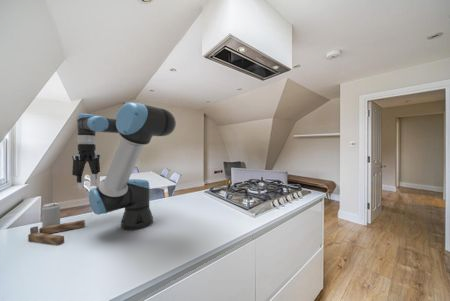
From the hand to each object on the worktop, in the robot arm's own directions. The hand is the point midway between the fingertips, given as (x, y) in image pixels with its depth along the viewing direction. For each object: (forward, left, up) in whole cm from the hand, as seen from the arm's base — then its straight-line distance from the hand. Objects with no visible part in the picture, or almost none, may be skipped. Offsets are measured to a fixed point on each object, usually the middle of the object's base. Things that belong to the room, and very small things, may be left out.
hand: (87, 187), depth 96 cm
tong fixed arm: (0, +19, -19) cm, 27 cm away
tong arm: (+2, +10, -19) cm, 21 cm away
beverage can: (+11, +9, -19) cm, 24 cm away
